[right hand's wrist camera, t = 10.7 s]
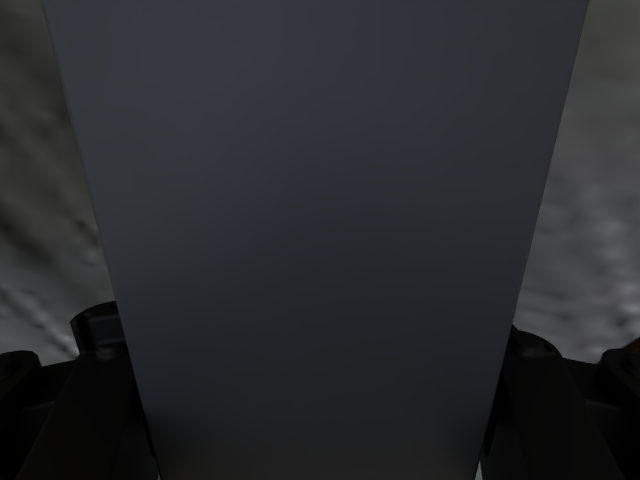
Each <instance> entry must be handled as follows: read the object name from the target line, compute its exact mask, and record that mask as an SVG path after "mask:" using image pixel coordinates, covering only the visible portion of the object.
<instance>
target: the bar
mask: <svg viewBox="0 0 640 480" xmlns="http://www.w3.org/2000/svg"><path fill="white" fill-rule="evenodd" d="M588 3H589V0H41V4H42V8H43V12H44V16H45V20H46V24H47V28H48V32H49V36H50V40H51V44H52V48H53V52H54V56H55V60H56V64H57V68H58V72H59V76H60V80H61V84H62V88H63V92H64V96H65V100H66V104H67V108H68V112H69V116H70V120H71V124H72V128H73V132H74V136H75V140H76V144H77V148H78V152H79V156H80V160H81V164H82V167H83V171H84V175H85V179H86V183H87V187H88V191H89V195H90V199H91V203H92V207H93V211H94V215H95V219H96V223H97V227H98V231H99V235H100V239H101V243H102V247H103V251H104V255H105V259H106V263H107V267H108V271H109V275H110V279H111V283H112V287H113V291H114V295H115V299H116V303H117V307H118V311H119V315H120V319H121V323H122V327H123V331H124V335H125V339H126V343H127V347H128V351H129V355H130V359H131V363H132V367H133V371H134V375H135V379H136V383H137V387H138V391H139V395H140V399H141V403H142V407H143V411H144V415H145V419H146V423H147V427H148V431H149V435H150V439H151V443H152V447H153V451H154V455H155V459H156V463H157V467H158V471H159V475H160V479H161V480H475V477H476V473H477V468H478V464H479V460H480V456H481V452H482V447H483V443H484V439H485V435H486V431H487V426H488V422H489V418H490V414H491V410H492V406H493V401H494V397H495V393H496V389H497V385H498V380H499V376H500V372H501V368H502V364H503V359H504V355H505V351H506V347H507V343H508V339H509V334H510V330H511V326H512V322H513V318H514V313H515V309H516V305H517V301H518V297H519V292H520V288H521V284H522V280H523V276H524V271H525V267H526V263H527V259H528V255H529V251H530V246H531V242H532V238H533V234H534V230H535V225H536V221H537V217H538V213H539V209H540V204H541V200H542V196H543V192H544V188H545V184H546V179H547V175H548V171H549V167H550V163H551V158H552V154H553V150H554V146H555V142H556V137H557V133H558V129H559V125H560V121H561V117H562V112H563V108H564V104H565V100H566V96H567V91H568V87H569V83H570V79H571V75H572V70H573V66H574V62H575V58H576V54H577V50H578V45H579V41H580V37H581V33H582V29H583V24H584V20H585V16H586V12H587V8H588Z"/></svg>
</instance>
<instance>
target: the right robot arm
mask: <svg viewBox="0 0 640 480" xmlns="http://www.w3.org/2000/svg"><path fill="white" fill-rule="evenodd" d="M70 324H71V327H72V330H73V334H74V337H75V340H76V343H77V346H78V350H79V353H80V354H79V356H78V358H77V359H76V360H72V361H67V362H62V363H57V364H52V365H47V366H41V363H40V360H39V358H38V355H37V354H35V353H34V352H32V351H24V350H20V351H13V352H6V353H2V354H1V355H0V480H158V473H159V471H158V467H157V463H156V459H155V455H154V451H153V447H152V443H151V439H150V435H149V431H148V427H147V423H146V419H145V415H144V411H143V407H142V403H141V399H140V395H139V391H138V387H137V383H136V379H135V375H134V371H133V367H132V363H131V359H130V355H129V351H128V347H127V343H126V339H125V335H124V331H123V327H122V323H121V319H120V315H119V311H118V307H117V303H116V301H111V302H107V303H102V304H99V305H96V306H93V307H91V308H88V309H86V310H84V311H83V312H81V313H79V314H78V315H76V316H75V317H74V318H73V319H72V320H71V321H70ZM480 464H481V472H482V479H483V480H640V353H639V352H637V351H633V350H625V349H609V350H607V351H606V352H604V353H603V354H602V357H601V359H600V362H599V365H596V364H591V363H586V362H581V361H576V360H571V359H566V358H562V356H561V354H560V352H559V351H558V350H557V349H556V347H555V346H554V345H552V344H551V343H549V342H548V341H547V340H545V339H543V338H541V337H539V336H537V335H534V334H532V333H528V332H524V331H520V330H517V328H516V327H515V326H514V325H513V324H512V326H511V330H510V334H509V339H508V343H507V347H506V351H505V355H504V359H503V364H502V368H501V372H500V376H499V380H498V385H497V389H496V393H495V397H494V401H493V406H492V410H491V414H490V418H489V422H488V426H487V431H486V435H485V439H484V443H483V447H482V452H481V456H480Z"/></svg>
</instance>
